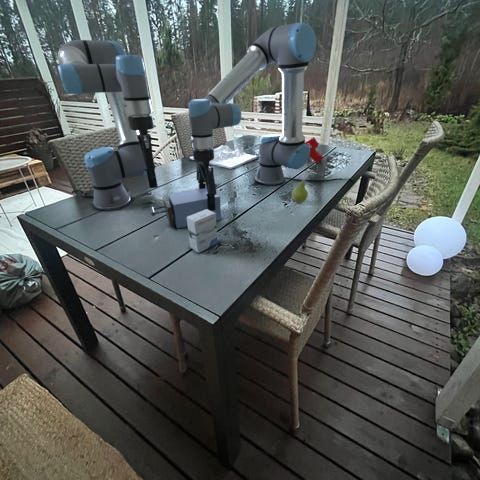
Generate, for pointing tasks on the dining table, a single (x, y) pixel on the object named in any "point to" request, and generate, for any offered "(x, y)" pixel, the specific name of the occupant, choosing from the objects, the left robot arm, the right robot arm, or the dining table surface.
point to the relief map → (230, 157)
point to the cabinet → (191, 205)
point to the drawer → (167, 210)
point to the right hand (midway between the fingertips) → (207, 204)
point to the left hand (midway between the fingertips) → (153, 187)
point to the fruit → (300, 192)
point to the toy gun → (313, 153)
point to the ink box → (202, 230)
